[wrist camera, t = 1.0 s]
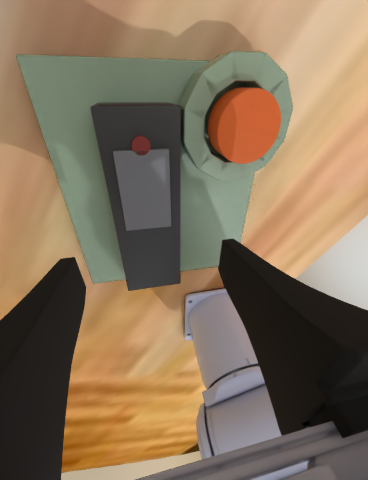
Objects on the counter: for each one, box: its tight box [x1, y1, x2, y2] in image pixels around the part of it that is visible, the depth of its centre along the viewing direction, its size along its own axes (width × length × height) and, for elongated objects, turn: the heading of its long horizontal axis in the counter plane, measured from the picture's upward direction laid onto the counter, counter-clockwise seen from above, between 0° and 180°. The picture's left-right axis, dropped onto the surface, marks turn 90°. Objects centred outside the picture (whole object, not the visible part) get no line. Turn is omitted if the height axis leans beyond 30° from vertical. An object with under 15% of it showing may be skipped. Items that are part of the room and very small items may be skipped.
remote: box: [90, 102, 181, 291], centre depth 15 cm, size 13×4×3 cm, turn 179°
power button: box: [208, 87, 281, 164], centre depth 12 cm, size 4×4×2 cm
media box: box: [16, 51, 293, 283], centre depth 16 cm, size 16×14×4 cm
